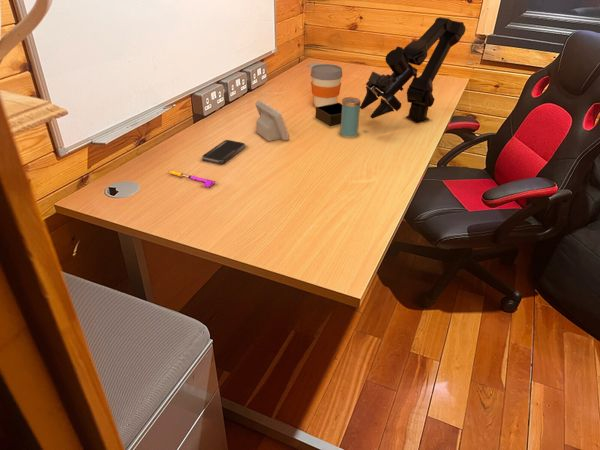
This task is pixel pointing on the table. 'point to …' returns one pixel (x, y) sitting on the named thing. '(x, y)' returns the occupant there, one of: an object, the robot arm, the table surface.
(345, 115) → the tin
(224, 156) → the phone
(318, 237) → the table surface
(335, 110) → the tray
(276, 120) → the digital clock
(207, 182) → the multicoloured piece
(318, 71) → the reusable coffee cup
